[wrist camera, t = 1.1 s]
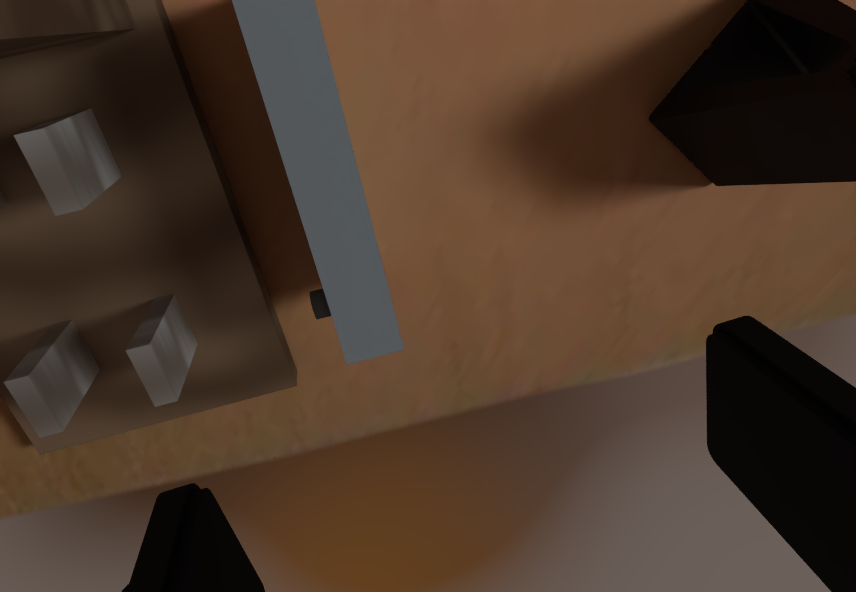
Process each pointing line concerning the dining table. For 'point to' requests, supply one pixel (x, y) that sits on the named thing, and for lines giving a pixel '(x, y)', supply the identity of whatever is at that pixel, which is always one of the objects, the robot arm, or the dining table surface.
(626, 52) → the dining table surface
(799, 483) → the robot arm
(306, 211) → the blue-grey rectangular block
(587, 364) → the dining table surface
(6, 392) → the wooden peg rack
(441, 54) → the dining table surface
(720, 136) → the phone stand
